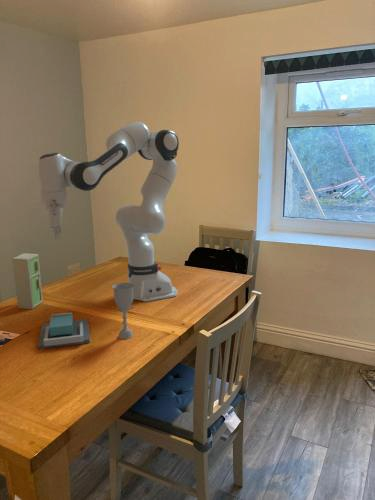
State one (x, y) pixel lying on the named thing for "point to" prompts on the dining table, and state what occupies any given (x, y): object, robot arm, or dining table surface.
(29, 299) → the toy refrigerator
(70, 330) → the teal handled box
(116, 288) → the chalice
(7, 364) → the dining table surface
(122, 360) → the dining table surface
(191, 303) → the dining table surface
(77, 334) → the loading dock
